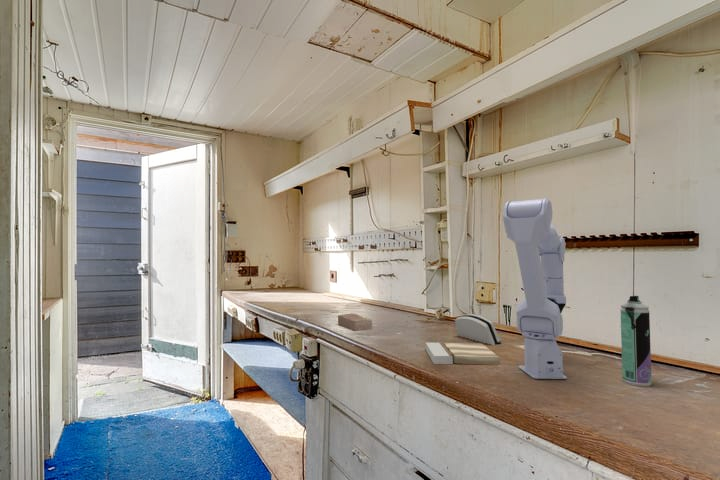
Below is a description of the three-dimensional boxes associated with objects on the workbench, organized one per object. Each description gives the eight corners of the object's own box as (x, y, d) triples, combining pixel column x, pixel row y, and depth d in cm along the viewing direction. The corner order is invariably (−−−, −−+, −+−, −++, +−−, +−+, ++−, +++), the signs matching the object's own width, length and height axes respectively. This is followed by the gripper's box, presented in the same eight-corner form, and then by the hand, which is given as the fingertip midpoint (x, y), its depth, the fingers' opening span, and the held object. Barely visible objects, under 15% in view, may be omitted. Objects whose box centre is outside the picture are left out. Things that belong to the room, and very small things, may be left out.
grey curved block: (503, 343, 128) (495, 316, 127) (494, 350, 126) (486, 322, 124) (467, 334, 143) (460, 309, 141) (458, 340, 140) (451, 315, 139)
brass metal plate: (499, 364, 103) (499, 357, 103) (454, 363, 104) (454, 355, 104) (482, 350, 119) (482, 343, 119) (443, 349, 120) (443, 342, 120)
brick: (373, 330, 153) (373, 318, 153) (355, 332, 149) (355, 319, 149) (354, 323, 168) (354, 313, 168) (337, 325, 164) (337, 314, 164)
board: (452, 364, 104) (452, 354, 104) (434, 364, 104) (433, 354, 104) (441, 349, 120) (441, 341, 120) (425, 349, 120) (425, 341, 120)
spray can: (653, 388, 85) (650, 297, 86) (623, 383, 88) (620, 296, 89) (650, 381, 89) (647, 295, 90) (621, 377, 92) (619, 294, 93)
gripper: (529, 276, 117) (530, 321, 116) (545, 279, 102) (546, 330, 102) (554, 276, 116) (555, 322, 115) (573, 279, 101) (575, 331, 101)
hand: (553, 326), depth 108 cm, fingers closed
